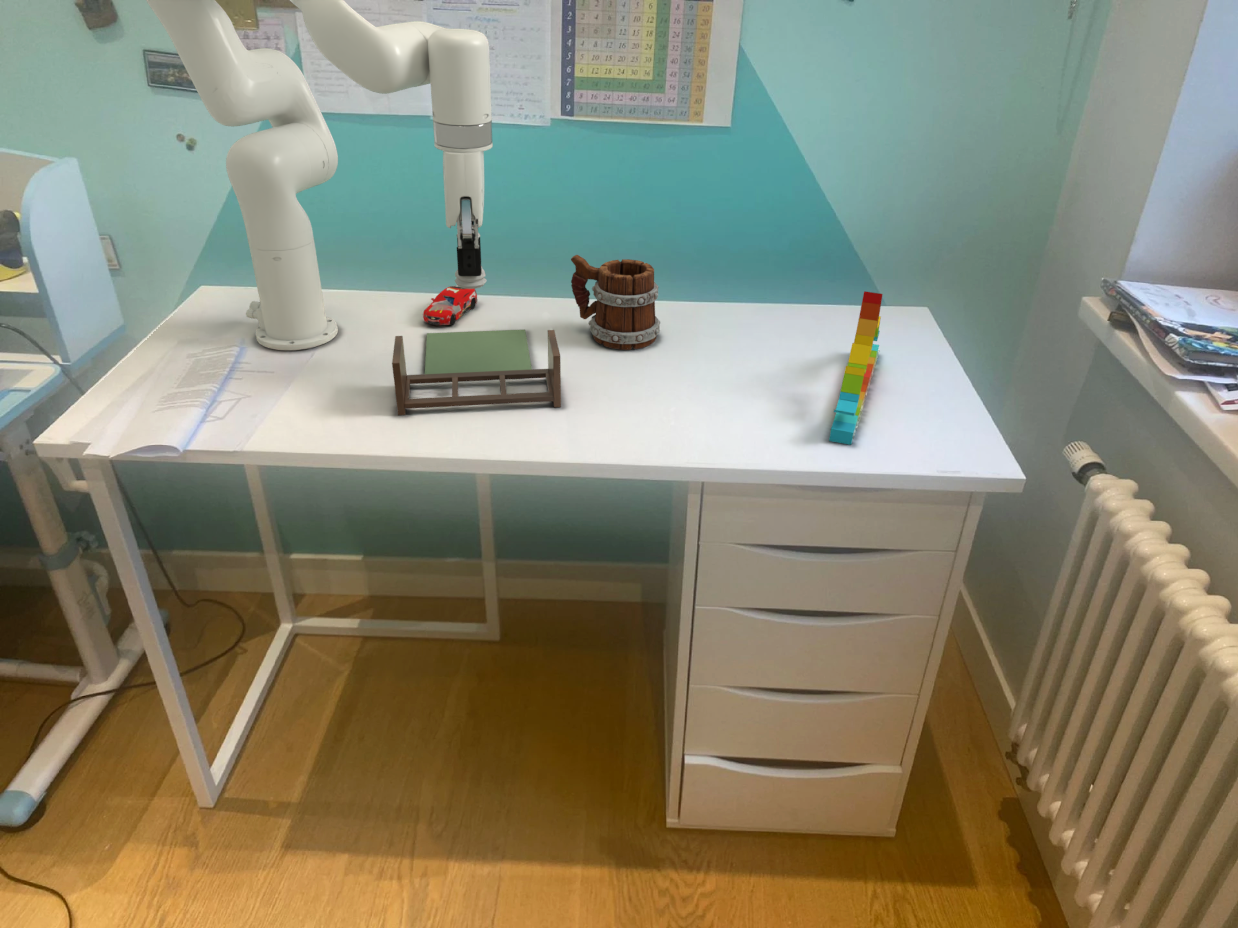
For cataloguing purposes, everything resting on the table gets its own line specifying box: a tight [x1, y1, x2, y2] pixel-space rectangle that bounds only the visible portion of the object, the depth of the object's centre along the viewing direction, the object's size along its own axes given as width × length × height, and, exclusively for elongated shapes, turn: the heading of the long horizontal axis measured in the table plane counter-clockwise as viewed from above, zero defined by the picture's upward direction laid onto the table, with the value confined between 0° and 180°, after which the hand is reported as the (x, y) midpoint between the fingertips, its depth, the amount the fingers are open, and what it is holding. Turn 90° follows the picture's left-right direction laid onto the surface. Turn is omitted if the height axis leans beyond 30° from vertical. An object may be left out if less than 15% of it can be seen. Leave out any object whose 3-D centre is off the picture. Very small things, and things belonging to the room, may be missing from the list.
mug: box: [570, 254, 661, 351], centre depth 148 cm, size 12×14×15 cm
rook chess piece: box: [454, 230, 487, 290], centre depth 128 cm, size 4×4×8 cm
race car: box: [422, 284, 478, 326], centre depth 157 cm, size 13×5×4 cm, turn 161°
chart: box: [828, 291, 883, 446], centre depth 132 cm, size 30×3×15 cm, turn 160°
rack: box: [391, 329, 562, 416], centre depth 130 cm, size 9×23×8 cm, turn 99°
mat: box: [424, 329, 533, 374], centre depth 144 cm, size 16×16×1 cm
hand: (469, 268), depth 129 cm, fingers closed on rook chess piece, 3 cm apart
